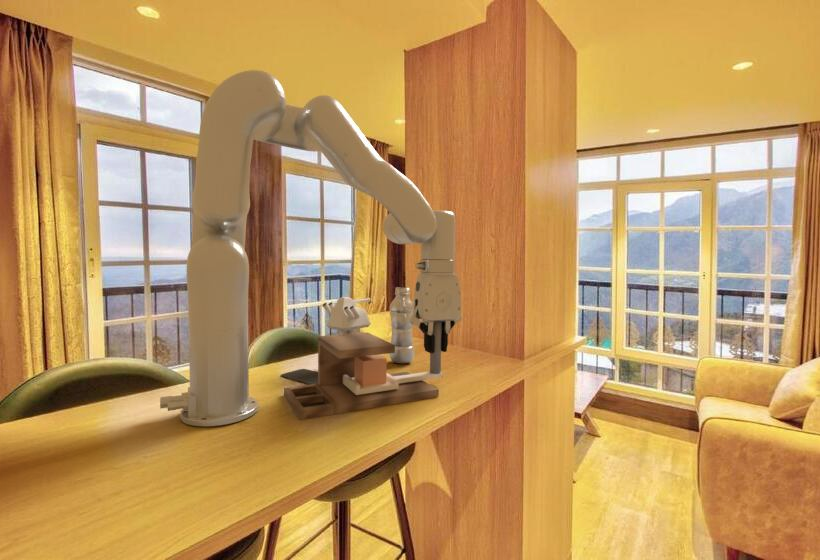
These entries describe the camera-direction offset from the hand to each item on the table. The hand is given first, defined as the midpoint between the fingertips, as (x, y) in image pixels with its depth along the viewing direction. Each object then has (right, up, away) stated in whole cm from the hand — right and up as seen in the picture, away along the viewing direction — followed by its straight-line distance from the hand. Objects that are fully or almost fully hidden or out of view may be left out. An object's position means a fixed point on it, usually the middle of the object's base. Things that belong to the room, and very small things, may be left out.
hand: (435, 350), depth 93 cm
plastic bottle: (-8, -7, +19) cm, 22 cm away
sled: (-8, -6, -4) cm, 11 cm away
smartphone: (-28, -8, +4) cm, 30 cm away
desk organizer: (-16, -8, -8) cm, 19 cm away
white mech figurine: (-21, -7, +13) cm, 26 cm away
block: (-14, -5, -7) cm, 16 cm away
